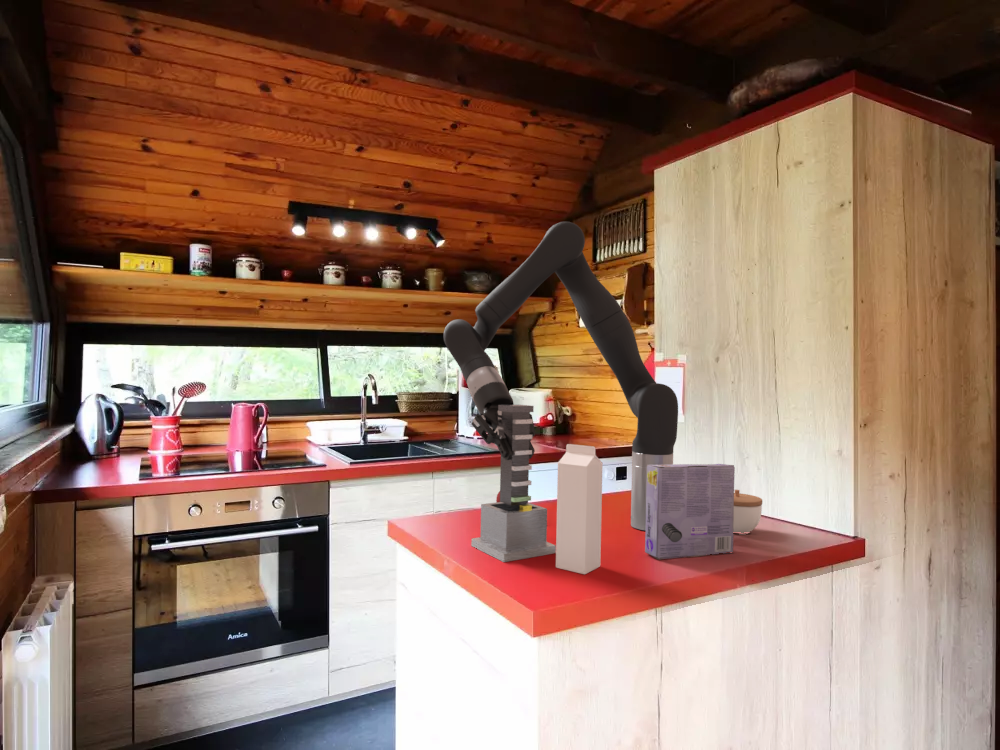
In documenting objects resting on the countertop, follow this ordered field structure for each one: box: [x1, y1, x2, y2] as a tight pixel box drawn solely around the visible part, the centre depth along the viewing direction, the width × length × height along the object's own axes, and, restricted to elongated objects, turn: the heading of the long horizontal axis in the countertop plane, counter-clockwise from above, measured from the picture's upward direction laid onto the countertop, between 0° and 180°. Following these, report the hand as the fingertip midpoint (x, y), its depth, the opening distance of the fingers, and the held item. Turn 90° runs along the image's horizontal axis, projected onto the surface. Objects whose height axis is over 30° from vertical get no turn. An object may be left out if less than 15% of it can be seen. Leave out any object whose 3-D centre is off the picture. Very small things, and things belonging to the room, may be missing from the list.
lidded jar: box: [733, 489, 763, 533], centre depth 138 cm, size 11×11×9 cm
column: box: [498, 404, 535, 505], centre depth 119 cm, size 5×6×19 cm
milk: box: [555, 443, 603, 575], centre depth 109 cm, size 6×6×22 cm
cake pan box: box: [644, 463, 736, 560], centre depth 119 cm, size 19×5×18 cm, turn 110°
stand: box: [470, 502, 556, 563], centre depth 119 cm, size 12×12×10 cm
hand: (520, 456), depth 118 cm, fingers open, 4 cm apart
